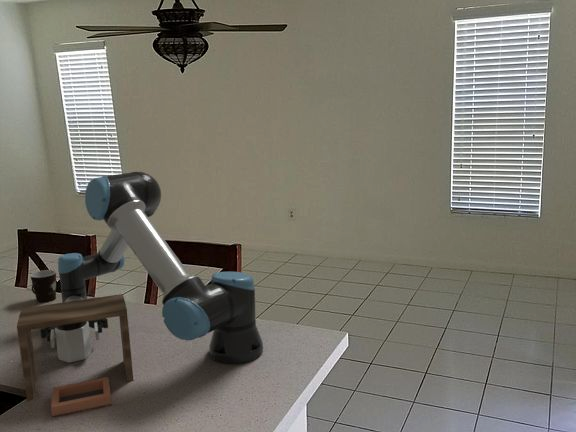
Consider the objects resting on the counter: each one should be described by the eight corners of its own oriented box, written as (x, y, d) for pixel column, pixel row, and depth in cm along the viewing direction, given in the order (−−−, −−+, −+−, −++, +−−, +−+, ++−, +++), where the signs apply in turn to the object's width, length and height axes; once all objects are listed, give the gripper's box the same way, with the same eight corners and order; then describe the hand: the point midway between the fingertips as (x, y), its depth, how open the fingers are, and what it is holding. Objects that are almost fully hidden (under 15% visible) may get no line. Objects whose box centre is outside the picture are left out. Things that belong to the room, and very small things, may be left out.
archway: (30, 378, 143) (21, 308, 139) (129, 360, 152) (122, 293, 148) (27, 401, 132) (16, 326, 128) (133, 380, 141) (126, 309, 137)
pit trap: (53, 396, 134) (52, 387, 133) (109, 385, 138) (108, 376, 138) (52, 417, 125) (51, 407, 125) (111, 404, 130) (110, 395, 129)
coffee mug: (49, 294, 206) (46, 268, 204) (64, 297, 202) (61, 271, 200) (21, 304, 197) (17, 277, 194) (35, 308, 192) (32, 281, 190)
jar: (60, 365, 150) (55, 324, 147) (56, 353, 157) (51, 314, 154) (94, 357, 154) (89, 317, 152) (89, 346, 161) (85, 308, 159)
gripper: (114, 316, 176) (120, 344, 155) (35, 329, 167) (30, 359, 147) (112, 294, 174) (117, 319, 154) (32, 306, 166) (26, 334, 146)
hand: (74, 339), depth 151 cm, fingers open, 11 cm apart
